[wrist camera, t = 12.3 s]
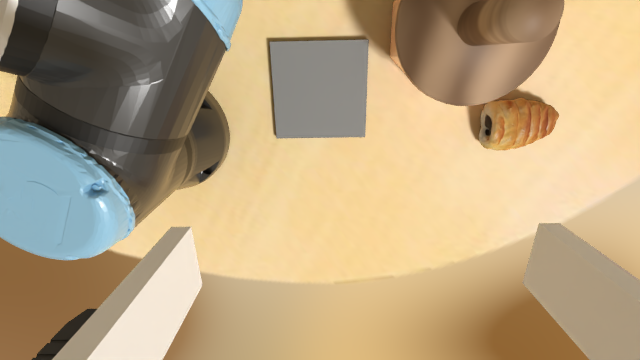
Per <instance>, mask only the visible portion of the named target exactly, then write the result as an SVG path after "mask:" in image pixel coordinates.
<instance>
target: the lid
mask: <svg viewBox="0 0 640 360" xmlns="http://www.w3.org/2000/svg"><path fill="white" fill-rule="evenodd" d="M563 10H564V0H400V3H399V6H398V11H397V15H396V22H395V44H396V50H397V54H398V58H399V61H400V63H401V66H402V68H403V70H404V72H405V74H406V75H407V77H408V78H409V80H410V81H411V82H412V83H413V84H414V85H415V86H416V87H417V88H418V89H419V90H420V91H421V92H423V93H424V94H426V95H427V96H429V97H431V98H433V99H435V100H437V101H440V102H443V103H446V104H451V105H456V106H472V105H479V104H484V103H487V102H490V101H493V100H496V99H498V98H500V97H502V96H504V95H506V94H508V93H509V92H511V91H513V90H514V89H515V88H517V87H518V86H519V85H521V84H522V83H523V82H524V81H525V80H526V79H527V78H528V77H529V76H531V75H532V73H533V72H534V71H535V70H536V69H537V68H538V66H539V65H540V64H541V62H542V61H543V59H544V58H545V56H546V55H547V53H548V51H549V49H550V47H551V46H552V43H553V41H554V38H555V36H556V34H557V30H558V27H559V23H560V19H561V17H562V14H563Z"/></svg>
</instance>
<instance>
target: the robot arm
mask: <svg viewBox="0 0 640 360" xmlns="http://www.w3.org/2000/svg"><path fill="white" fill-rule="evenodd" d="M242 3H243V0H0V71H3V72H7V73H11V74H15V75H18V76H17V81H16V85H15V90H14V94H13V98H12V103H11V107H10V111H9V113H8V114H7V116H6V117H0V237H1V238H2V239H4V240H6V241H7V242H9V243H11V244H13V245H15V246H17V247H19V248H21V249H23V250H25V251H28V252H30V253H33V254H36V255H39V256H43V257H47V258H51V259H58V260H76V259H78V258H90V257H93V256H95V255H98V254H101V253H102V252H104V251H106V250H107V249H109V248H110V247H111V246H113V245H114V244H115V243H117V242H118V241H120V240H123V239H124V238H126V237H127V236H129V234H130V233H131V232H132V231H133V229H134V228H135V227H136V226H137V225H138V224H139V223H140V222H141V221H142V220H143V219H144V218H146V217H147V216H148V215H149V214H150V213H151V212H152V211H153V210H154V209H155V208H156V207H158V206H159V205H160V204H161V203H162V202H163V201H164V200H165V199H166V198H167V197H169V196H170V195H171V194H172V193H173V192H174V191H175V190H178V189H183V188H188V187H192V186H195V185H197V184H200V183H202V182H203V181H205V180H207V179H208V178H209V177H210V176H212V175H213V174H214V173H215V172H216V171H217V169H218V168H219V167H220V166H221V165H222V163H223V162H224V160H225V158H226V155H227V152H228V149H229V143H230V133H229V127H228V123H227V119H226V117H225V114H224V112H223V110H222V108H221V107H220V105H219V104H218V102H217V101H216V100H215V98H214V97H213V96H212V95H211V94H210V93H209V92H208V89H209V87H210V85H211V82H212V80H213V78H214V75H215V73H216V71H217V69H218V66H219V64H220V62H221V60H222V57H223V55H224V53H225V51H229V49H230V46H231V43H230V39H231V37H232V34H233V32H234V29H235V27H236V24H237V21H238V19H239V16H240V14H241V11H242ZM523 284H524V285H525V286H526V287H527V289H528V290H529V291H530V292H531V293H532V294H533V295H534V297H535V298H536V299H537V300H538V301H539V302H540V303H541V305H542V306H543V307H544V308H545V309H546V310H547V311H548V312H549V314H550V315H551V316H552V317H553V318H554V319H555V321H556V322H557V323H558V324H559V325H560V326H561V327H562V329H563V330H564V331H565V332H566V333H567V334H568V335H569V336H570V338H571V339H572V340H573V341H574V342H575V343H576V345H577V346H578V347H579V348H580V349H581V350H582V351H583V353H584V354H585V355H586V356H587V357H588V358H589V359H590V360H640V280H639V279H638V278H636V277H634V276H633V275H632V274H630V273H629V272H628V271H626V270H625V269H623V268H622V267H621V266H619V265H618V264H616V263H615V262H613V261H612V260H611V259H609V258H608V257H606V256H605V255H604V254H602V253H601V252H599V251H598V250H597V249H595V248H594V247H592V246H591V245H589V244H588V243H587V242H585V241H584V240H582V239H581V238H579V237H578V236H577V235H575V234H574V233H573V232H571V231H570V230H568V229H567V228H566V227H564V226H563V225H561V224H560V223H540V224H539V225H538V229H537V232H536V236H535V239H534V243H533V247H532V251H531V254H530V258H529V262H528V265H527V269H526V272H525V276H524V280H523ZM201 287H202V280H201V275H200V270H199V265H198V260H197V255H196V249H195V244H194V239H193V234H192V229H191V227H171V228H170V229H169V230H168V231H167V232H166V233H165V235H164V236H163V237H162V238H161V239H160V240H159V241H158V242H157V243H156V245H155V246H154V247H153V248H152V249H151V250H150V251H149V252H148V253H147V255H146V256H145V257H144V258H143V259H142V260H141V261H140V262H139V264H138V265H137V266H136V267H135V268H134V269H133V270H132V271H131V272H130V274H129V275H128V276H127V277H126V278H125V279H124V280H123V281H122V282H121V284H120V285H119V286H118V287H117V288H116V289H115V290H114V291H113V292H112V294H111V295H110V296H109V297H108V298H107V299H106V300H105V301H104V302H103V303H102V305H101V306H100V307H99V308H98V309H87V310H85V311H84V312H82V313H81V314H80V315H78V316H77V317H75V318H74V319H72V320H71V321H69V322H68V323H67V324H66V325H65V326H64V327H63V328H62V329H61V330H60V331H59V332H58V333H57V334H56V335H55V336H54V337H53V338H52V339H51V342H50V343H47V344H46V345H45V346H44V348H42V349H41V350H40V352H39V353H38V354H37V357H36V358H33V359H32V360H163V358H164V356H165V354H166V352H167V350H168V348H169V347H170V344H171V343H172V341H173V339H174V337H175V335H176V333H177V332H178V330H179V328H180V326H181V324H182V322H183V320H184V318H185V317H186V315H187V313H188V311H189V309H190V307H191V305H192V303H193V302H194V300H195V298H196V296H197V294H198V292H199V290H200V289H201Z"/></svg>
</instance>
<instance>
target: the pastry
mask: <svg viewBox="0 0 640 360" xmlns="http://www.w3.org/2000/svg"><path fill="white" fill-rule="evenodd" d="M483 108H484V109H483V110H482V112H481V117H480V119H481V130H480V133H479V141H480V143H481V145H482V146H483V147H485V148H486V149H493V150H508V149H514V148H519V147H522V146H526V145H527V144H530V143H533V142H534V141H536V140H538V139H541V138H543V137H545V136H547V135H549V134H550V133H551V132H552V130H553V129H554V127H555V124H556V120H557V119H558V117H559V114H558V112H557V111H556V110H555V109H554V108H553V107H552V106H551V105H547V104H544V103H541V102H539V101H534V100H526V99H524V98H517V99H515V100H500V101H490V102H487V103H486V104H485V106H484V107H483Z"/></svg>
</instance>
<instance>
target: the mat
mask: <svg viewBox="0 0 640 360" xmlns="http://www.w3.org/2000/svg"><path fill="white" fill-rule="evenodd" d="M368 41H369V40H327V41H280V42H270V54H271V68H272V82H273V96H274V109H275V123H276V137H277V138H329V137H365V126H366V98H367V69H368Z"/></svg>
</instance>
